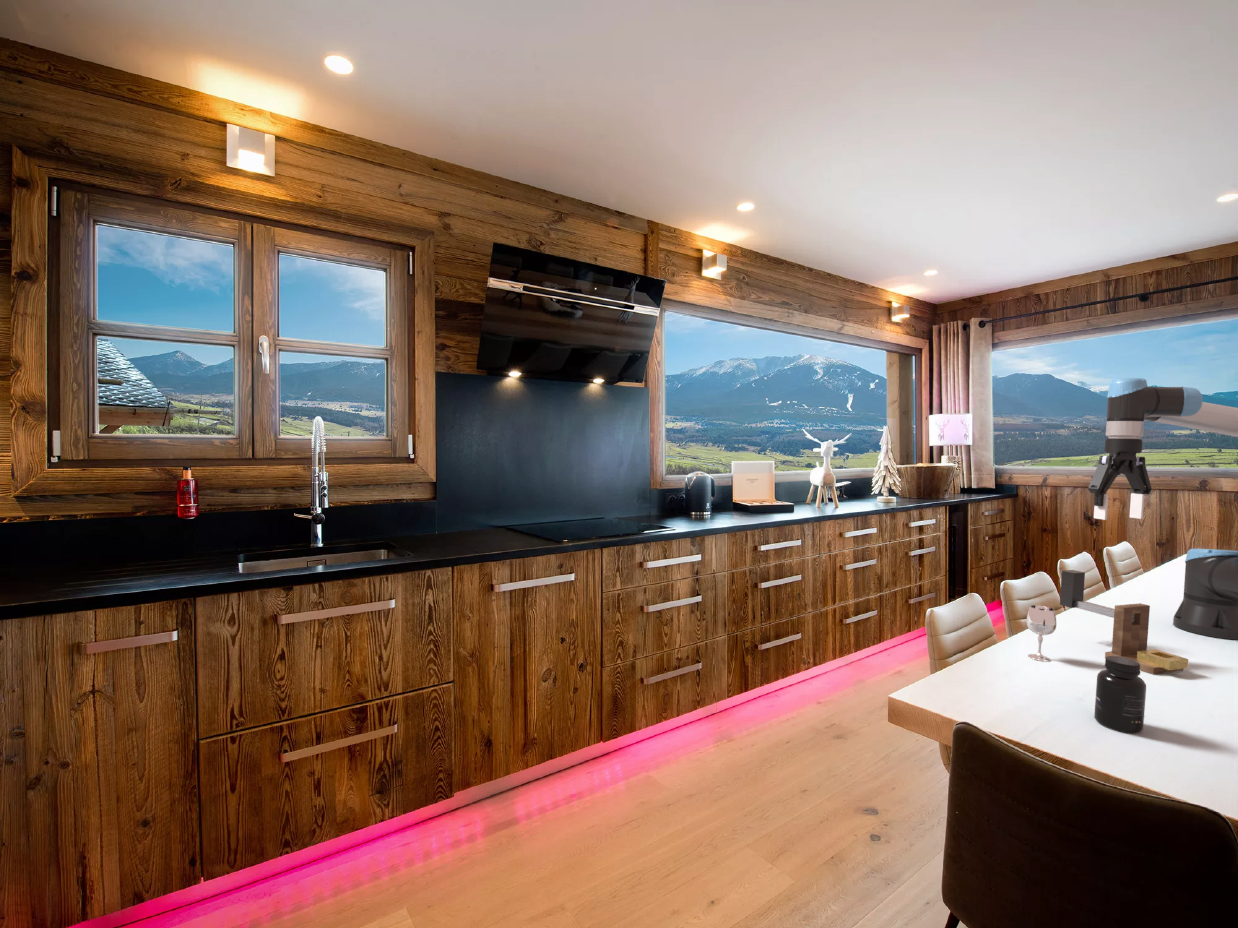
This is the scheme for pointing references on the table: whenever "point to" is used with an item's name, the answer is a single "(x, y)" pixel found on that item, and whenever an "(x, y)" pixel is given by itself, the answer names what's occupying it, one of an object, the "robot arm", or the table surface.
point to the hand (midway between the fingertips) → (1118, 518)
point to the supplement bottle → (1120, 695)
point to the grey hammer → (1080, 594)
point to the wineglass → (1041, 626)
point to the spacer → (1162, 659)
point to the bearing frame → (1132, 635)
